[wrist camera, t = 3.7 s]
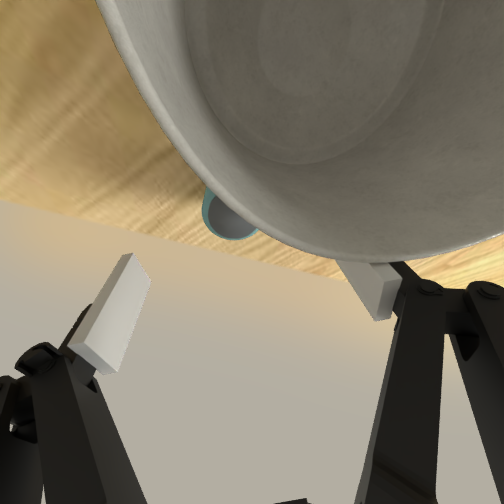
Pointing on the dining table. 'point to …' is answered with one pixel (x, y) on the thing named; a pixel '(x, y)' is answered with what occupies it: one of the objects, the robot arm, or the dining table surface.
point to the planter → (332, 115)
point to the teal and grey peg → (224, 219)
